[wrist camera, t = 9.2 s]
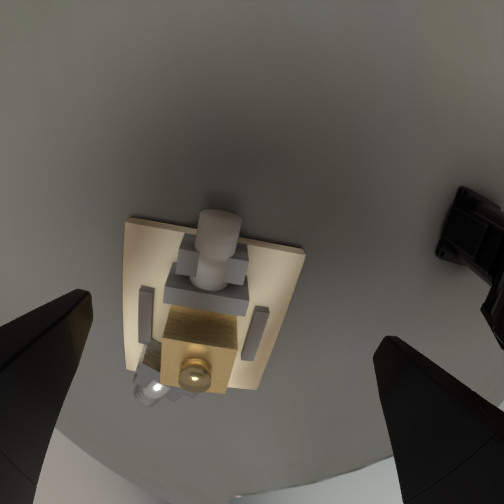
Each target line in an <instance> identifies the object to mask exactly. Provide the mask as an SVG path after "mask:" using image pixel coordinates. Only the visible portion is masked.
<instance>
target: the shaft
mask: <svg viewBox="0 0 504 504" xmlns="http://www.w3.org/2000/svg"><path fill="white" fill-rule="evenodd" d="M161 349H162V343H161V342H159V341H157V340H155V339H154V338H152V340H151V344H150V343H147V345H146V344H144V346H143V349H142V353H141V356H140V359H139V362H138V365H137V368H136V372H135V375H134V379H133V383H135V384H137V386H136V387H135V388H134V396H135V398H136V399H137V401H138V402H139V403H140V404H142V405H144V406H147V407H152V406H155V405H156V404H157V403H158V402H159V401H160V400H161V399H162V398H163V397H164V398H166V399H169V400H171V401H173V402H176V401H177V400H178V399H179V398H180V397H181V396H182V395H183V394H184V395H186V396H189V397H191V398H194V397H195V396H196V395H197V394H198V393H192V392H188V391H186V390H184V389H183V388H179V387H173V386H168V385H163V384H160V371H161Z"/></svg>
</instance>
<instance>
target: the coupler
mask: <svg viewBox="0 0 504 504" xmlns="http://www.w3.org/2000/svg"><path fill="white" fill-rule="evenodd" d="M237 352H238V337H237V316H236V315H230V314H223V313H217V312H211V311H205V310H199V309H193V308H188V307H182V306H177V305H171V307H170V310H169V314H168V317H167V321H166V325H165V329H164V332H163V336H162V349H161V371H160V384H163V385H168V386H173V387H179V388H183V389H184V390H186V391H188V392H192V393H201V392H212V393H220V394H225V393H226V389H227V386H228V382H229V379H230V376H231V372H232V369H233V365H234V362H235V359H236V355H237Z"/></svg>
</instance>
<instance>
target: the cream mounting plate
mask: <svg viewBox="0 0 504 504" xmlns="http://www.w3.org/2000/svg"><path fill="white" fill-rule="evenodd" d="M241 224H242V219H241V218H240V217H239V216H238V215H236V214H233V213H231V212H228V211H224V210H218V209H205V210H202V211H201V212H200V215H199V221H198V227H197V229H194V228H188V227H183V226H177V225H172V224H166V223H161V222H155V221H149V220H144V219H138V218H132V217H130V218H129V219H128V220H127V221H126V222H125V233H124V254H123V323H124V344H125V358H126V369H127V370H132V371H136V368H137V365H138V362H139V359H140V356H141V353H142V349H143V346H144V344H146V345H147V343H150V344H151V340H152V338H154V339H155V340H157V341H159V342H161V343H162V336H163V332H164V329H165V325H166V321H167V317H168V314H169V310H170V307H171V305H177V306H182V307H188V308H193V309H199V310H205V311H211V312H217V313H223V314H230V315H236V316H237V337H238V352H237V355H236V359H235V362H234V365H233V369H232V372H231V376H230V379H229V382H228V386H227V387H232V388H241V389H252V390H257V387H258V385H259V382H260V380H261V377H262V375H263V372H264V370H265V367H266V365H267V362H268V360H269V357H270V354H271V352H272V349H273V347H274V344H275V341H276V339H277V336H278V333H279V331H280V328H281V325H282V323H283V320H284V317H285V314H286V312H287V309H288V306H289V303H290V300H291V298H292V295H293V292H294V289H295V286H296V283H297V280H298V278H299V275H300V272H301V269H302V266H303V263H304V260H305V257H306V254H305V253H304V251H303V249H299V248H294V247H289V246H284V245H279V244H274V243H268V242H263V241H258V240H253V239H247V238H242V237H239V233H240V228H241Z"/></svg>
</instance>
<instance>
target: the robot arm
mask: <svg viewBox="0 0 504 504" xmlns="http://www.w3.org/2000/svg"><path fill="white" fill-rule="evenodd" d="M463 192H464V194H463ZM441 252H442V253H441ZM436 256H437V257H438V258H439V259H441V260H445V261H449V262H453V263H456V264H460V265H463V266H467V267H468V268H469V269H471V270H472V271H473V272H474V273H475V274H477V275H478V276H479V277H480V278H481V279H482V280H484V281H485V282H486V283H487V284H488V285H489V286H490V287H491V288H490V291H489V293H488V295H487V298H486V300H485V302H484V303H483V304H482V307H481V309H480V310H481V312H482V314H483V315H484V317H485V319H486V321H487V323H488V324H489V326H490V328H491V330H492V332H493V334H494V336H495V338H496V340H497V341H498V343H499V345H500V347H501V348H502V349H503V350H504V212H502V211H501V208H500V206H498V205H496V204H495V203H493V202H491V201H490V200H488V199H486V198H485V197H483V196H481V195H479V194H477V193H476V192H474V191H472V190H470V189H468V188H466V187H464V186H462V187H460V189H459V191H458V194H457V197H456V200H455V203H454V206H453V209H452V212H451V215H450V217H449V220H448V223H447V225H446V228H445V230H444V233H443V236H442V238H441V241H440V243H439V245H438V248H437V250H436ZM92 321H93V308H92V297H91V293H90V292H89V291H86V290H82V289H76V290H73V291H71V292H69V293H67V294H65V295H63V296H61V297H59V298H57V299H55V300H53V301H51V302H48V303H46V304H44V305H42V306H40V307H38V308H36V309H34V310H32V311H30V312H28V313H26V314H24V315H22V316H20V317H18V318H16V319H14V320H13V321H11V322H9V323H7V324H5V325H3V326H1V327H0V504H33V500H34V496H35V492H36V488H37V486H36V485H37V483H38V479H39V475H40V472H41V468H42V465H43V461H44V458H45V454H46V451H47V448H48V445H49V442H50V439H51V436H52V433H53V430H54V427H55V424H56V421H57V419H58V416H59V413H60V410H61V408H62V405H63V402H64V400H65V397H66V395H67V392H68V390H69V387H70V385H71V382H72V380H73V377H74V375H75V373H76V370H77V368H78V365H79V362H80V359H81V356H82V352H83V349H84V346H85V343H86V340H87V337H88V334H89V331H90V328H91V325H92ZM373 363H374V368H375V374H376V379H377V385H378V391H379V397H380V401H381V405H382V409H383V413H384V417H385V421H386V425H387V429H388V433H389V437H390V441H391V446H392V450H393V454H394V459H395V464H396V469H397V473H398V478H399V483H400V489H401V494H402V500H403V503H404V504H504V412H503V411H502V410H500V409H499V408H497V407H496V406H494V405H493V404H491V403H490V402H488V401H487V400H485V399H484V398H482V397H481V396H480V395H478V394H477V393H475V392H474V391H472V390H471V389H470V388H469V387H467V386H466V385H464V384H463V383H462V382H460V381H459V380H457V379H456V378H455V377H453V376H452V375H451V374H449V373H448V372H446V371H445V370H444V369H442V368H441V367H439V366H438V365H437V364H435V363H434V362H432V361H431V360H430V359H428V358H427V357H425V356H424V355H423V354H421V353H420V352H418V351H417V350H415V349H414V348H413V347H411V346H410V345H408V344H407V343H406V342H404V341H403V340H401V339H400V338H398V337H397V336H385V337H384V338H383V340H382V341H381V343H380V345H379V347H378V348H377V350H376V351H375V353H374V356H373Z"/></svg>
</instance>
